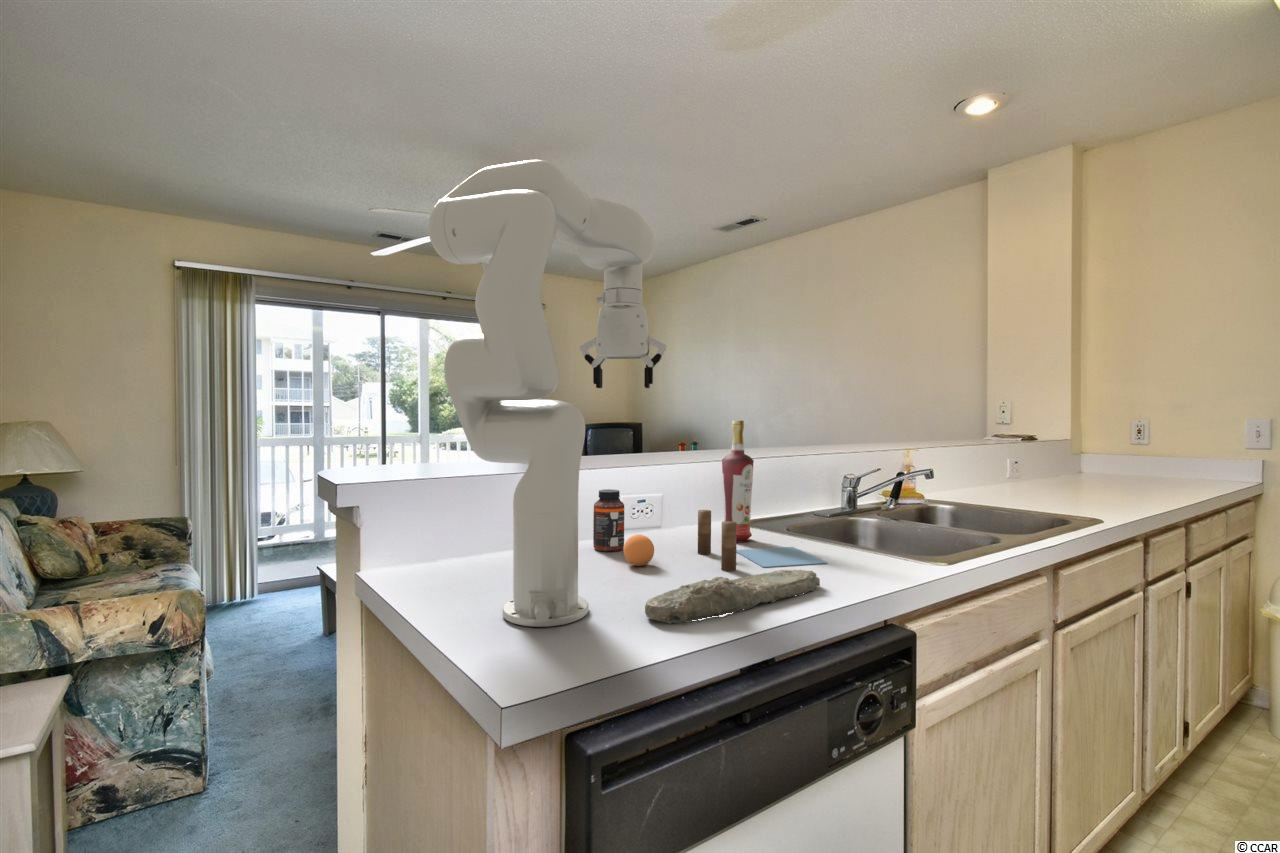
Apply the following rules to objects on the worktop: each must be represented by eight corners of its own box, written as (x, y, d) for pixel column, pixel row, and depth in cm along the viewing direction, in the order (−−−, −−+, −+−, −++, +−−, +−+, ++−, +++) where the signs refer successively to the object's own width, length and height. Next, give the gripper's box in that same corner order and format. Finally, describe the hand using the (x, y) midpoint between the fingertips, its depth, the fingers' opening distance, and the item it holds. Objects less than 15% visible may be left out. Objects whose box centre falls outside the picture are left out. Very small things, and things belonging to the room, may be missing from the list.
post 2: (738, 570, 111) (738, 523, 111) (724, 571, 111) (725, 524, 110) (732, 567, 114) (733, 520, 114) (719, 568, 113) (719, 521, 113)
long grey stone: (835, 600, 99) (789, 589, 107) (835, 569, 99) (789, 560, 108) (671, 633, 79) (630, 615, 87) (672, 593, 80) (631, 579, 88)
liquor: (738, 545, 133) (739, 421, 132) (714, 539, 139) (715, 420, 138) (759, 540, 138) (760, 420, 137) (735, 535, 143) (736, 420, 143)
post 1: (712, 554, 124) (713, 511, 124) (700, 555, 123) (700, 512, 123) (708, 551, 127) (708, 509, 127) (695, 551, 126) (696, 510, 126)
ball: (657, 568, 113) (658, 537, 112) (627, 570, 111) (627, 538, 111) (649, 560, 118) (649, 531, 118) (620, 562, 117) (620, 532, 117)
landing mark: (827, 563, 117) (827, 562, 117) (763, 567, 114) (763, 566, 114) (792, 547, 131) (792, 546, 131) (734, 551, 127) (734, 550, 127)
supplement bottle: (623, 552, 125) (623, 492, 125) (591, 552, 125) (591, 492, 125) (625, 545, 132) (625, 488, 132) (594, 545, 132) (595, 488, 132)
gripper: (575, 298, 114) (576, 387, 114) (665, 296, 111) (664, 387, 112) (584, 305, 121) (584, 388, 122) (668, 303, 119) (668, 388, 120)
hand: (623, 387), depth 117 cm, fingers open, 9 cm apart
